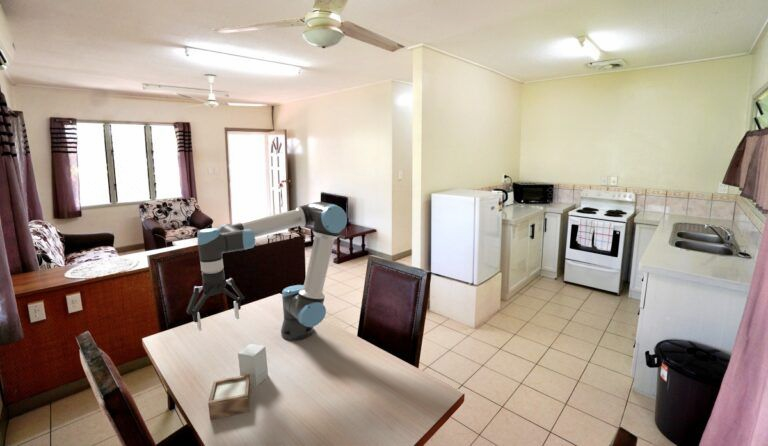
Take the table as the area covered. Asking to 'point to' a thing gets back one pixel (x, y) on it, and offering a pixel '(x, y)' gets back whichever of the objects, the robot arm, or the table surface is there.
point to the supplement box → (253, 363)
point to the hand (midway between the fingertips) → (219, 323)
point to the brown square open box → (229, 396)
